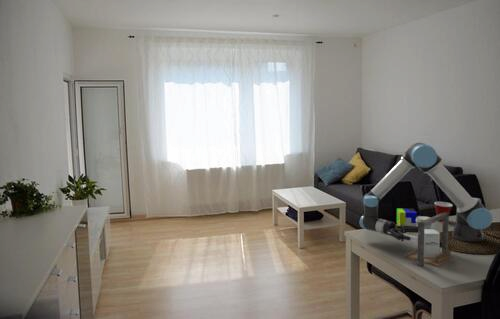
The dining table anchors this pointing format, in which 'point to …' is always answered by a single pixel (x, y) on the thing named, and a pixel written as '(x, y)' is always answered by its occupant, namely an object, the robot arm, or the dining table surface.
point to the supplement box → (431, 243)
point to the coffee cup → (422, 218)
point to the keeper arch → (419, 252)
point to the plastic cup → (442, 208)
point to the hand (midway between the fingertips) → (424, 236)
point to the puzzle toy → (406, 217)
